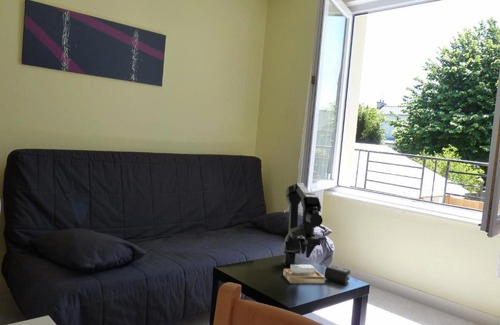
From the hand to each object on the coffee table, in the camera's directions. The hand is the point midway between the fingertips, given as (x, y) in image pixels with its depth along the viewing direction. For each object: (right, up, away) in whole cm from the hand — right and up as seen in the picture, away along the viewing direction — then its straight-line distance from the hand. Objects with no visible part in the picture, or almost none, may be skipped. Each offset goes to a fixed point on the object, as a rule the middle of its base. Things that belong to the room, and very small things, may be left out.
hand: (304, 255), depth 180 cm
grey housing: (-1, -9, 0) cm, 9 cm away
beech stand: (-1, -11, +1) cm, 11 cm away
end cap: (+15, -13, 0) cm, 19 cm away
